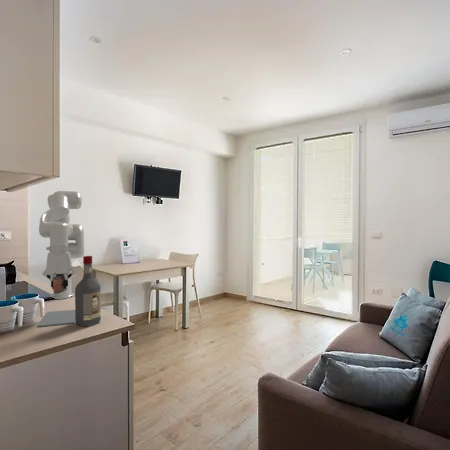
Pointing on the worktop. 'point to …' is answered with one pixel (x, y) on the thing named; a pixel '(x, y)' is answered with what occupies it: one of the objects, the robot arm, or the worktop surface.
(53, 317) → the mat
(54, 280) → the lighter
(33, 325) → the worktop surface
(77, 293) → the liquor
